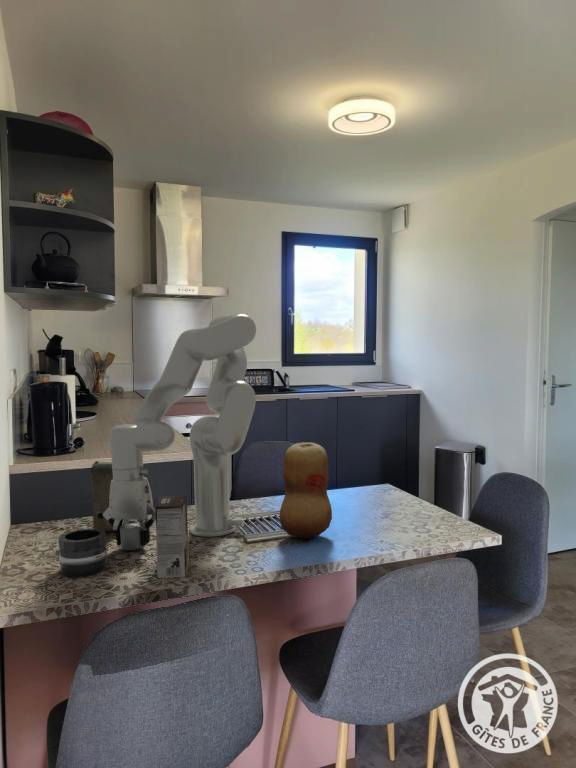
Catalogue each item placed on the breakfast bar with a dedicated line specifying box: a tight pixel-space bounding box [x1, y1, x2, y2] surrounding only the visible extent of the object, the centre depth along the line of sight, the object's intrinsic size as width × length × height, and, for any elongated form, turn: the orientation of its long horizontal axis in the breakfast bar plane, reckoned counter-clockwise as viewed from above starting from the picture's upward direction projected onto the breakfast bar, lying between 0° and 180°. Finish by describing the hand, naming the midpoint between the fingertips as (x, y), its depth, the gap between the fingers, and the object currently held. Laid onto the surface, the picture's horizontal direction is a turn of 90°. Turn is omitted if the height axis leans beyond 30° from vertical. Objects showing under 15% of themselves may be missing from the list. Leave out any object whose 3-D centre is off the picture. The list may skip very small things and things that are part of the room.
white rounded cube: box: [120, 522, 145, 551], centre depth 147 cm, size 6×6×5 cm
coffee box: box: [154, 495, 190, 579], centre depth 132 cm, size 9×6×16 cm
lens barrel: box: [58, 527, 108, 578], centre depth 134 cm, size 10×10×8 cm
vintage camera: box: [90, 460, 130, 533], centre depth 168 cm, size 10×16×20 cm, turn 174°
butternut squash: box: [279, 441, 333, 540], centre depth 153 cm, size 14×13×25 cm
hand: (133, 543), depth 147 cm, fingers closed on white rounded cube, 5 cm apart
